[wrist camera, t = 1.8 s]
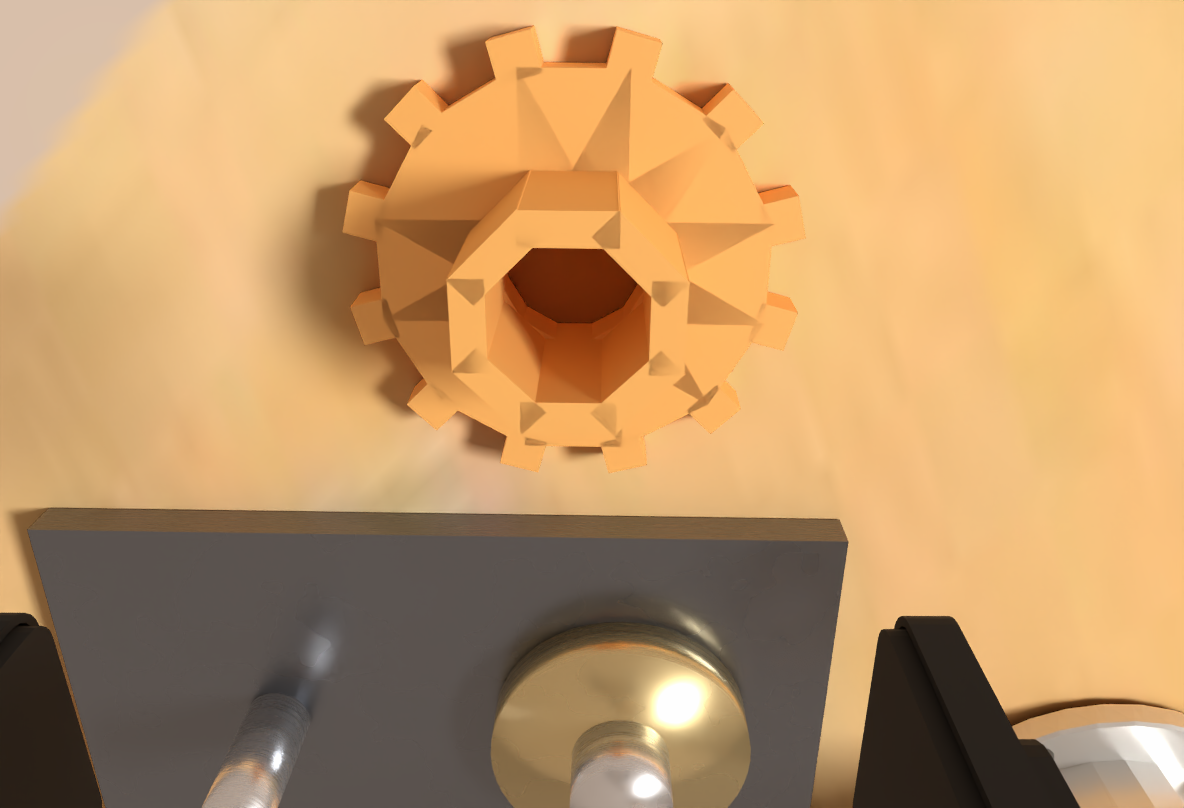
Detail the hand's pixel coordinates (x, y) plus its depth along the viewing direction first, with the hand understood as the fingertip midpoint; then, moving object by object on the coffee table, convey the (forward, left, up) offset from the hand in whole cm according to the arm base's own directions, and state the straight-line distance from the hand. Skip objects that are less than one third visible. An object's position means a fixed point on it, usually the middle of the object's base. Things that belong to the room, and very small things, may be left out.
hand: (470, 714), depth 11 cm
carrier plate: (+3, +15, -17) cm, 22 cm away
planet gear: (-1, 0, -17) cm, 17 cm away
